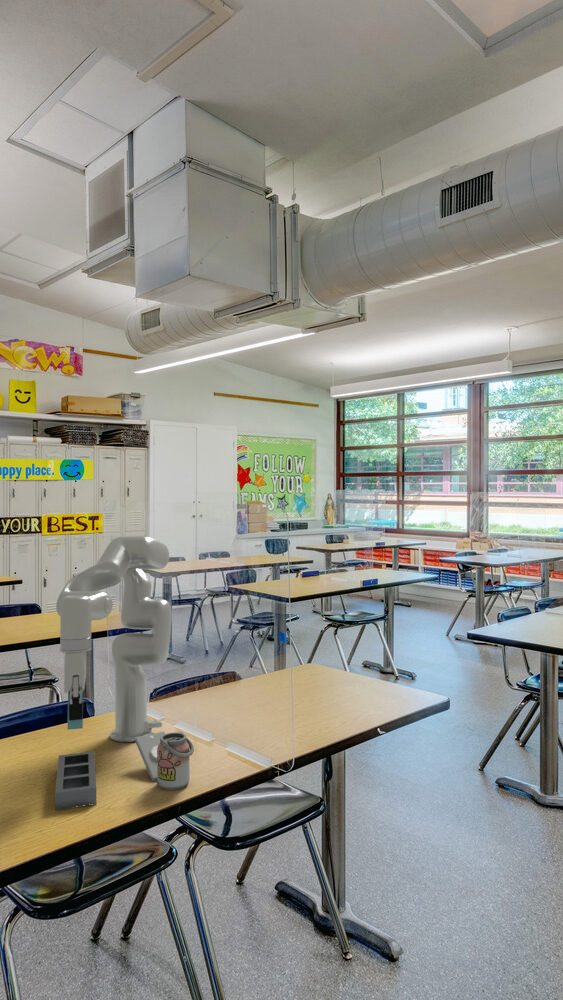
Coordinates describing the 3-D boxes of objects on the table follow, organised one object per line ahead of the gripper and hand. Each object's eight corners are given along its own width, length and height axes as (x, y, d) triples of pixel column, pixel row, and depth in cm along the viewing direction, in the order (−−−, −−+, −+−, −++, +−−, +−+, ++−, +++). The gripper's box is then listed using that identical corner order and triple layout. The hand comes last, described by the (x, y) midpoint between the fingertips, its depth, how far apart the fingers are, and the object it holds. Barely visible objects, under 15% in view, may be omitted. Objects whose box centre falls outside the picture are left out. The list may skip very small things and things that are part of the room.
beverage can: (199, 780, 161) (199, 734, 161) (181, 794, 153) (181, 745, 154) (169, 775, 165) (169, 729, 165) (150, 788, 157) (150, 740, 157)
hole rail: (94, 765, 171) (94, 751, 172) (96, 804, 149) (96, 787, 149) (58, 770, 169) (58, 755, 169) (55, 810, 146) (55, 793, 146)
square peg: (82, 723, 161) (83, 688, 161) (82, 728, 158) (83, 692, 158) (67, 725, 160) (68, 689, 160) (67, 729, 156) (68, 693, 157)
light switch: (153, 776, 160) (135, 734, 171) (149, 792, 162) (132, 750, 173) (184, 768, 165) (164, 728, 176) (180, 784, 167) (161, 744, 178)
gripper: (61, 639, 166) (61, 709, 166) (59, 652, 150) (59, 729, 150) (90, 637, 168) (90, 706, 168) (91, 649, 153) (91, 725, 152)
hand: (75, 716), depth 159 cm, fingers closed on square peg, 3 cm apart
